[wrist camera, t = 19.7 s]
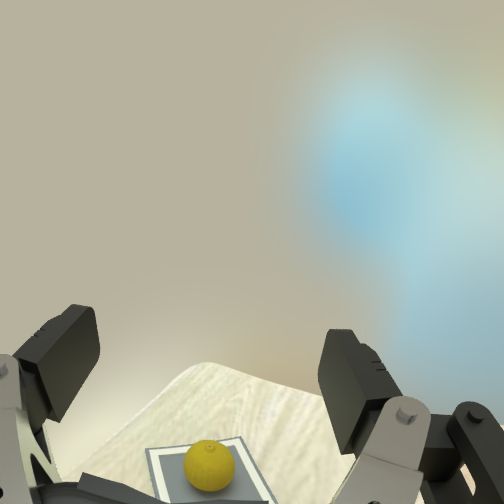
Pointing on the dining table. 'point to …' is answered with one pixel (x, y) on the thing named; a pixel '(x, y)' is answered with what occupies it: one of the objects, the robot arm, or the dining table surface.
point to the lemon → (209, 465)
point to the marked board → (182, 491)
